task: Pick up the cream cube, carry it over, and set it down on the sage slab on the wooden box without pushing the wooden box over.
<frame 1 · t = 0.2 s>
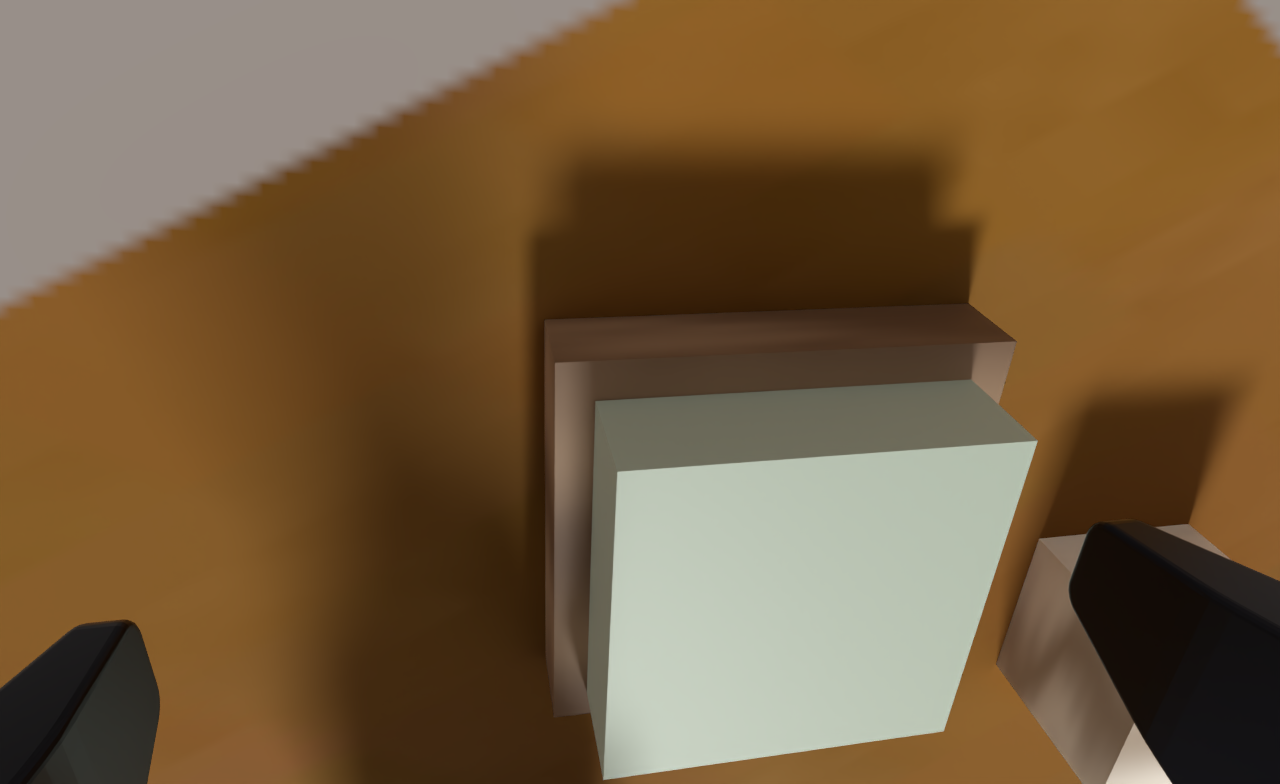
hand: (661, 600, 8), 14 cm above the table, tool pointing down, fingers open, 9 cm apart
cream cube: (1088, 594, 32), on the table
sage slab: (767, 545, 25), point 2 cm above the table, touching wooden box
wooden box: (737, 481, 27), on the table, touching sage slab
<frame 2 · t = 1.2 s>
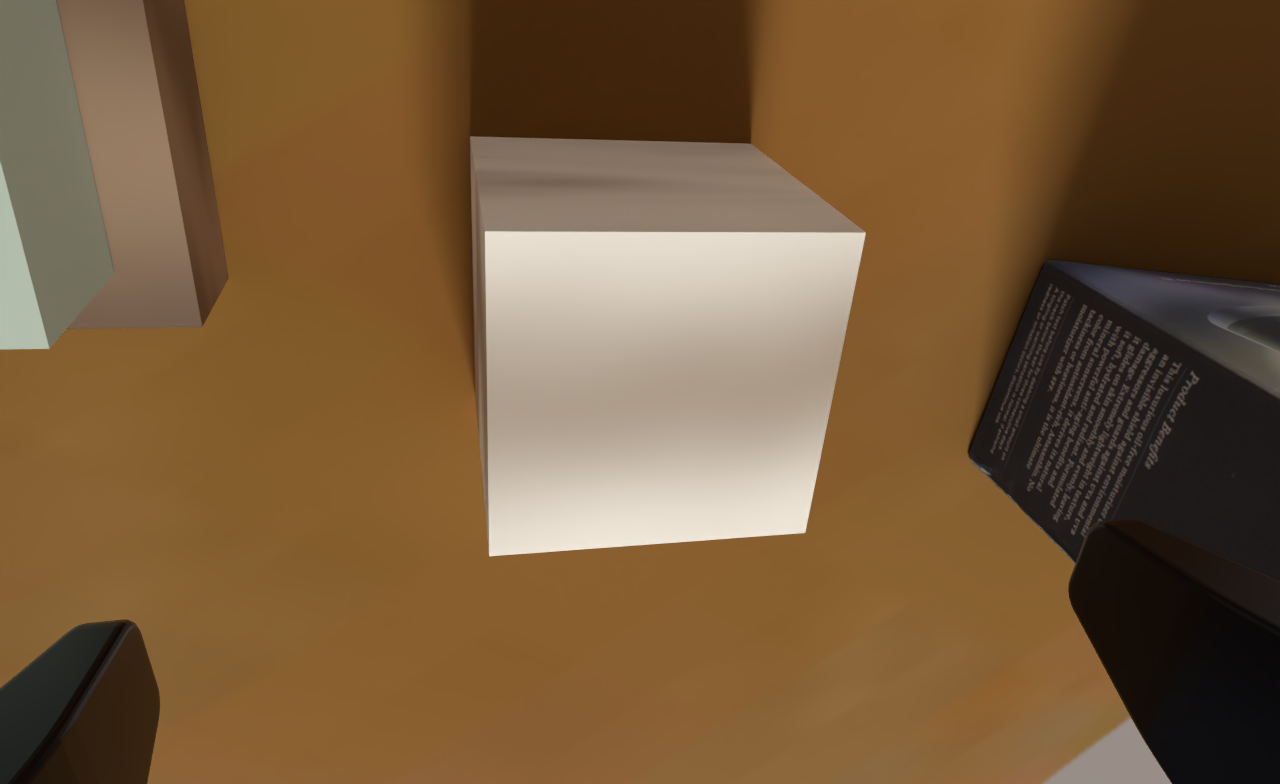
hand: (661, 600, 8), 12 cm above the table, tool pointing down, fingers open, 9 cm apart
small box: (1156, 366, 25), on the table
cream cube: (606, 273, 20), on the table
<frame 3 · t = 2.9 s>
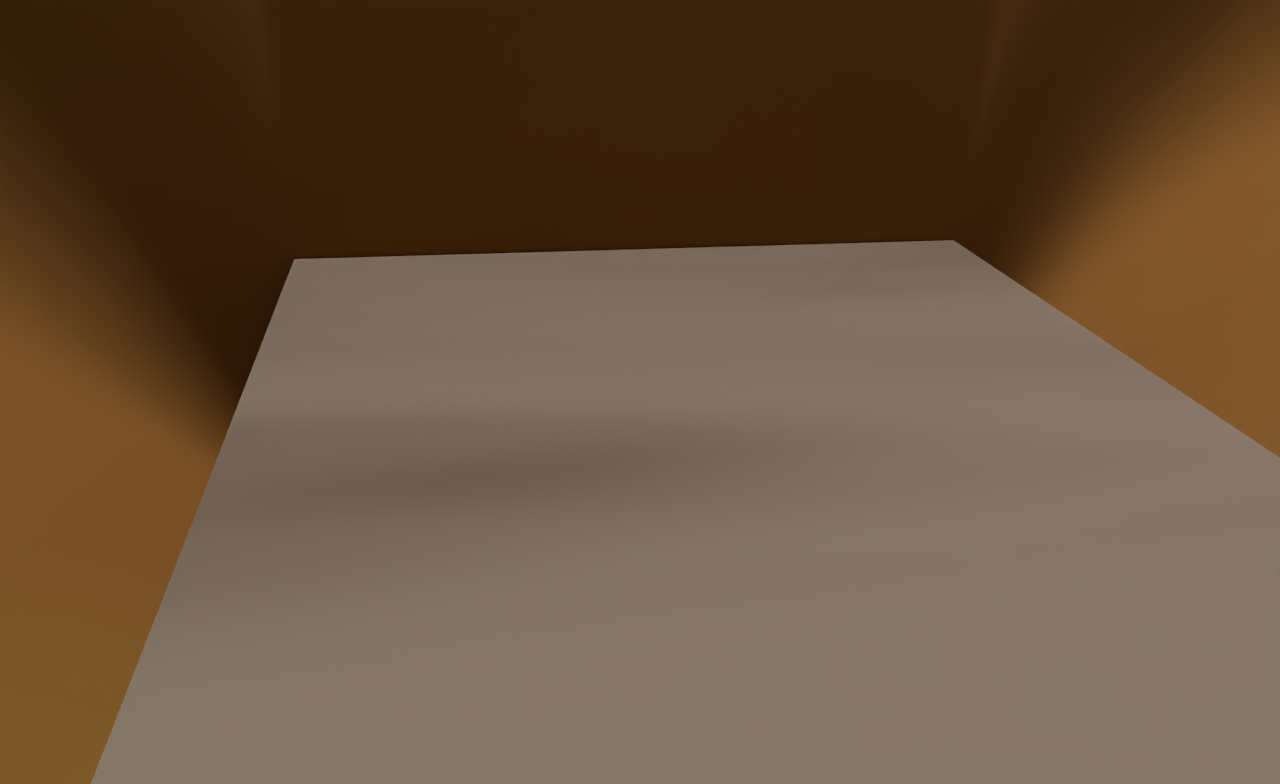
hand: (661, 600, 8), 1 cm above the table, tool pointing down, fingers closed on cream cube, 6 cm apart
cream cube: (634, 518, 9), on the table, touching gripper
when the fingers open (8 cm above the table, at t = 7.6 s): cream cube drops 1 cm, point 5 cm above the table.
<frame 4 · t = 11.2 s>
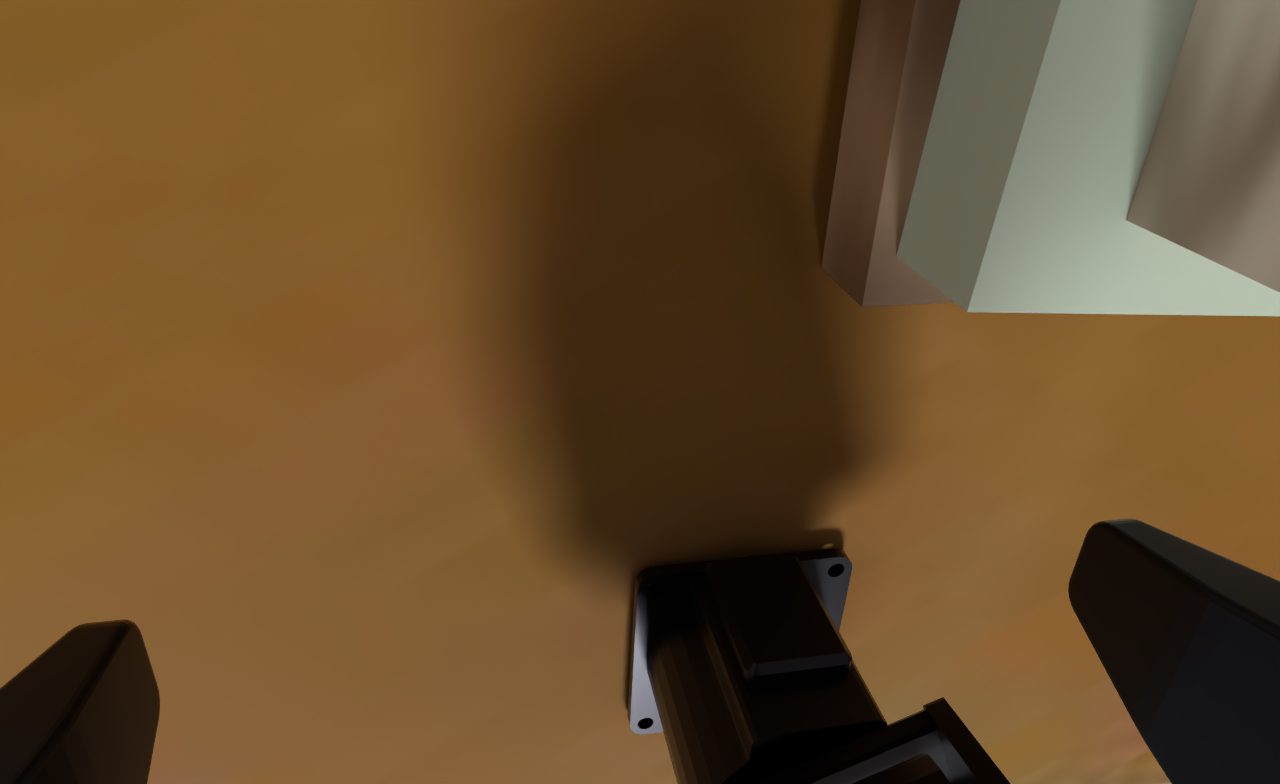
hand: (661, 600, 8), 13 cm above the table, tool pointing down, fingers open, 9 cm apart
sage slab: (1177, 30, 18), point 2 cm above the table, touching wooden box
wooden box: (1089, 6, 20), on the table, touching sage slab
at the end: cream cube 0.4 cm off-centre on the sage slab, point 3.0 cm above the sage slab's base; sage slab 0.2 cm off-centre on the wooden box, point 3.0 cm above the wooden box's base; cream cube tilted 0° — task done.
